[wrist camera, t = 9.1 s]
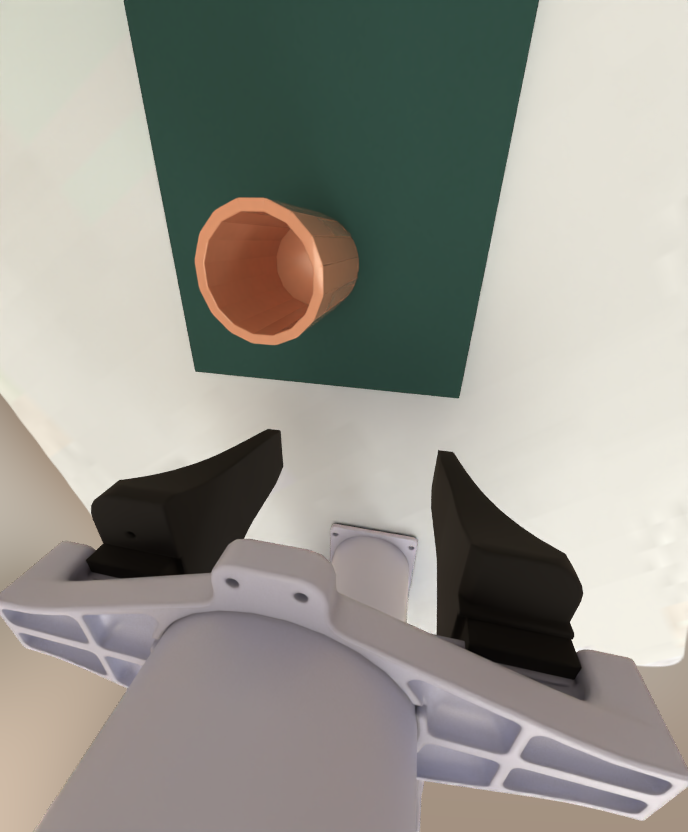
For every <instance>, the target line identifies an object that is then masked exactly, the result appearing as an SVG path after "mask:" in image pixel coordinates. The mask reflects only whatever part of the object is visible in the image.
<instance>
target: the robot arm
mask: <svg viewBox="0 0 688 832" xmlns="http://www.w3.org/2000/svg"><path fill="white" fill-rule="evenodd" d="M282 468H283V457H282V444H281V432H280V430H272V429H267V430H265V431H263V432H261V433H259V434H257V435H255V436H253V437H251V438H250V439H248V440H246V441H244V442H242V443H240V444H238V445H237V446H235V447H233V448H230V449H228V450H226V451H224V452H222V453H220V454H218V455H216V456H214V457H211V458H209V459H206V460H204V461H201V462H198V463H195V464H192V465H189V466H186V467H183V468H179V469H176V470H172V471H168V472H164V473H160V474H155V475H150V476H145V477H138V478H132V479H125V480H119V481H118V482H116V483H115V484H114V485H113V486H111V487H110V488H109V489H108V490H106V491H105V492H104V493H103V494H101V495H100V496H99V497H98V498H96V499H95V500H94V501H93V503H92V505H91V514H92V518H93V521H94V523H95V525H96V528H97V530H98V532H99V534H100V537H101V539H102V541H103V543H104V544H102V545H101V546H100V547H99V548H98V549H97V550H95V549H93V548H92V547H91V546H88V545H84V544H79V543H75V542H69V541H62V542H61V543H60V544H58V545H57V546H56V547H55V548H54V549H52V550H51V551H50V552H49V553H48V554H46V555H45V556H44V557H43V558H41V559H40V560H39V561H38V562H37V563H36V564H34V565H33V566H32V567H31V568H29V569H28V570H27V571H26V572H25V573H23V574H22V575H21V576H20V577H19V578H17V579H16V580H15V581H14V582H12V583H11V584H10V585H9V586H8V587H7V588H5V589H4V590H3V591H2V592H0V616H1V617H2V618H3V620H4V621H5V622H6V624H7V625H8V626H9V628H10V629H11V630H12V632H13V633H14V634H15V636H16V637H17V639H18V640H19V641H20V643H21V644H22V645H23V647H24V648H27V649H30V650H34V651H37V652H40V653H43V654H47V655H49V656H52V657H55V658H58V659H60V660H63V661H66V662H69V663H71V664H73V665H76V666H78V667H80V668H83V669H85V670H87V671H90V672H92V673H94V674H96V675H99V676H101V677H103V678H105V679H108V680H110V681H112V682H114V683H116V684H119V685H121V686H123V687H125V688H127V690H126V692H125V693H124V695H123V696H122V698H121V699H120V701H119V702H118V704H117V705H116V707H115V709H114V710H113V712H112V713H111V715H110V716H109V718H108V719H107V721H106V722H105V724H104V725H103V727H102V728H101V730H100V731H99V733H98V734H97V736H96V737H95V739H94V740H93V742H92V743H91V745H90V746H89V748H88V749H87V751H86V753H85V754H84V755H83V757H82V758H81V760H80V761H79V763H78V764H77V766H76V767H75V769H74V770H73V772H72V774H71V775H70V777H69V778H68V780H67V781H66V783H65V784H64V786H63V787H62V789H61V790H60V792H59V793H58V795H57V796H56V798H55V799H54V801H53V802H52V804H51V805H50V807H49V808H48V810H47V811H46V813H45V814H44V816H43V818H42V819H41V820H40V822H39V823H38V825H37V826H36V828H35V830H34V831H33V832H420V815H421V795H422V792H423V786H424V781H428V782H435V783H441V784H449V785H455V786H462V787H469V788H476V789H483V790H490V791H497V792H504V793H510V794H517V795H525V796H531V797H537V798H543V799H549V800H554V801H561V802H566V803H571V804H575V805H580V806H585V807H589V808H594V809H599V810H603V811H607V812H611V813H614V814H618V815H622V816H626V817H630V818H634V819H637V820H642V821H643V820H645V819H646V818H648V817H649V816H650V815H652V814H653V813H654V812H655V811H657V810H658V809H659V808H661V807H662V806H663V805H665V804H666V803H667V802H668V801H670V800H671V799H672V798H674V797H675V796H676V795H678V794H679V793H680V792H682V791H683V790H684V789H685V788H687V787H688V768H687V766H686V764H685V762H684V760H683V758H682V756H681V754H680V752H679V750H678V748H677V746H676V744H675V742H674V740H673V738H672V736H671V734H670V732H669V730H668V728H667V726H666V724H665V722H664V720H663V719H662V716H661V714H660V712H659V710H658V709H657V706H656V704H655V702H654V700H653V698H652V696H651V694H650V692H649V690H648V689H647V687H646V685H645V683H644V681H643V679H642V677H641V675H640V673H639V671H638V669H637V667H636V665H635V663H634V661H633V660H632V659H630V658H628V657H623V656H618V655H613V654H608V653H604V652H599V651H594V650H581V651H578V652H577V653H576V651H575V649H574V646H573V643H572V641H571V639H573V638H574V632H573V629H572V627H571V624H570V621H571V619H572V617H573V615H574V613H575V611H576V610H577V608H578V606H579V604H580V602H581V599H582V596H583V590H582V585H581V583H580V581H579V578H578V576H577V574H576V572H575V570H574V568H573V566H572V564H571V563H570V561H569V559H568V558H567V556H566V554H565V553H563V552H561V551H559V550H558V549H556V548H554V547H552V546H551V545H549V544H547V543H545V542H543V541H542V540H540V539H539V538H537V537H535V536H534V535H532V534H531V533H529V532H528V531H526V530H525V529H524V528H522V527H521V526H519V525H518V524H517V523H515V522H514V521H513V520H512V519H510V518H509V517H508V516H507V515H505V514H504V513H503V512H502V511H501V510H500V509H499V508H498V507H496V506H495V505H494V504H493V503H492V502H491V501H490V500H489V499H488V498H487V497H486V496H485V495H484V493H483V492H482V491H481V490H480V489H479V488H478V487H477V485H476V484H475V483H474V481H473V480H472V479H471V477H470V476H469V475H468V473H467V472H466V471H465V469H464V468H463V466H462V465H461V463H460V462H459V460H458V459H457V457H456V455H455V454H454V453H453V452H448V451H440V450H438V455H437V460H436V466H435V472H434V477H433V483H432V494H431V510H432V519H433V528H434V536H435V545H436V555H437V635H434V634H430V633H428V632H426V631H423V630H421V629H419V628H417V627H414V626H412V625H410V624H408V623H407V602H408V596H409V591H410V585H411V580H412V574H413V568H414V563H415V557H416V551H417V546H418V540H417V539H416V538H414V537H409V536H403V535H397V534H391V533H386V532H380V531H374V530H368V529H363V528H357V527H351V526H345V525H339V524H333V525H332V526H331V538H330V562H329V561H328V560H327V559H326V558H325V557H324V556H323V555H321V554H319V553H316V552H313V551H311V550H307V549H302V548H296V547H291V546H286V545H280V544H275V543H270V542H264V541H259V540H253V539H244V537H245V535H246V533H247V531H248V529H249V527H250V525H251V524H252V522H253V520H254V518H255V517H256V515H257V514H258V512H259V510H260V509H261V507H262V506H263V504H264V502H265V501H266V499H267V498H268V496H269V494H270V493H271V491H272V489H273V488H274V486H275V484H276V482H277V480H278V478H279V476H280V473H281V471H282ZM410 546H413V547H410Z"/></svg>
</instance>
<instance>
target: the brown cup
mask: <svg viewBox="0 0 688 832" xmlns="http://www.w3.org/2000/svg"><path fill="white" fill-rule="evenodd" d="M195 267H196V273H197V279H198V285H199V288H200V291H201V293H202V295H203V297H204V299H205V301H206V303H207V305H208V307H209V309H210V311H211V313H212V314H213V315H214V316H215V317H216V318H217V319H218V320H219V321H220V322H221V323H222V324H223V325H224V326H225V327H226V328H227V329H228V330H229V331H230V332H231V333H233V334H235V335H237V336H239V337H241V338H243V339H245V340H247V341H249V342H251V343H254V344H266V345H278V344H281V343H284V342H287V341H289V340H292V339H295V338H297V337H299V336H300V335H301V334H302V333H304V332H305V331H306V330H308V329H309V328H310V327H312V326H313V325H314V324H315V323H317V322H318V321H319V320H321V319H322V318H323V317H324V316H326V315H327V314H328V313H330V312H331V311H332V310H334V309H335V308H336V307H337V306H339V305H340V304H341V303H342V302H343V301H344V300H345V299H346V298H347V297H348V296H349V294H350V293H351V291H352V290H353V288H354V286H355V283H356V280H357V277H358V271H359V258H358V252H357V248H356V245H355V243H354V240H353V239H352V237H351V235H350V234H349V232H348V231H347V230H346V228H345V227H344V226H343V225H342V224H340V223H339V222H338V221H336V220H335V219H333V218H331V217H329V216H326V215H324V214H322V213H319V212H315V211H312V210H308V209H304V208H301V207H297V206H293V205H290V204H286V203H282V202H279V201H275V200H271V199H268V198H264V197H239V198H235V199H234V200H232V201H230V202H228V203H226V204H225V205H223V206H221V207H219V208H217V209H216V210H215V211H213V213H212V214H211V216H210V218H209V219H208V221H207V222H206V224H205V225H204V227H203V228H202V230H201V231H200V234H199V238H198V243H197V249H196V255H195Z"/></svg>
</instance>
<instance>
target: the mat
mask: <svg viewBox="0 0 688 832" xmlns="http://www.w3.org/2000/svg"><path fill="white" fill-rule="evenodd" d="M538 2H539V0H124V5H125V10H126V16H127V21H128V26H129V31H130V36H131V41H132V47H133V52H134V57H135V62H136V67H137V72H138V78H139V83H140V88H141V93H142V98H143V103H144V109H145V114H146V119H147V124H148V129H149V134H150V140H151V145H152V150H153V155H154V160H155V165H156V171H157V176H158V181H159V186H160V191H161V196H162V202H163V207H164V212H165V217H166V222H167V227H168V233H169V238H170V243H171V248H172V253H173V258H174V264H175V269H176V274H177V279H178V284H179V289H180V295H181V300H182V305H183V310H184V315H185V320H186V326H187V331H188V336H189V341H190V346H191V351H192V357H193V362H194V367H195V371H196V372H206V373H216V374H225V375H235V376H245V377H255V378H265V379H274V380H284V381H294V382H304V383H314V384H323V385H333V386H343V387H353V388H363V389H372V390H382V391H392V392H402V393H412V394H421V395H431V396H441V397H451V398H459V396H460V391H461V386H462V381H463V376H464V371H465V366H466V361H467V356H468V351H469V346H470V341H471V336H472V331H473V326H474V321H475V316H476V311H477V306H478V301H479V296H480V291H481V286H482V281H483V276H484V271H485V266H486V261H487V256H488V251H489V246H490V241H491V236H492V231H493V226H494V221H495V216H496V211H497V206H498V201H499V196H500V191H501V186H502V182H503V177H504V172H505V167H506V162H507V157H508V152H509V147H510V142H511V137H512V132H513V127H514V122H515V117H516V112H517V107H518V102H519V97H520V92H521V87H522V82H523V77H524V72H525V67H526V62H527V57H528V52H529V47H530V42H531V37H532V32H533V27H534V22H535V17H536V12H537V7H538ZM239 197H264V198H268V199H271V200H275V201H279V202H282V203H286V204H290V205H293V206H297V207H301V208H304V209H308V210H312V211H315V212H319V213H322V214H324V215H326V216H329V217H331V218H333V219H335V220H336V221H338V222H339V223H340V224H342V225H343V226H344V227H345V228H346V230H347V231H348V232H349V234H350V235H351V237H352V239H353V240H354V243H355V245H356V248H357V252H358V258H359V271H358V277H357V280H356V283H355V286H354V288H353V290H352V291H351V293H350V294H349V296H348V297H347V298H346V299H345V300H344V301H343V302H342V303H341V304H340V305H339V306H337V307H336V308H335V309H334V310H332V311H331V312H330V313H328V314H327V315H326V316H324V317H323V318H322V319H321V320H319V321H318V322H317V323H315V324H314V325H313V326H312V327H310V328H309V329H308V330H306V331H305V332H304V333H302V334H301V335H300V336H299V337H297V338H295V339H292V340H289V341H287V342H284V343H281V344H278V345H266V344H254V343H251V342H249V341H247V340H245V339H243V338H241V337H239V336H237V335H235V334H233V333H231V332H230V331H229V330H228V329H227V328H226V327H225V326H224V325H223V324H222V323H221V322H220V321H219V320H218V319H217V318H216V317H215V316H214V315H213V314H212V313H211V311H210V309H209V307H208V305H207V303H206V301H205V299H204V297H203V295H202V293H201V291H200V288H199V285H198V279H197V273H196V267H195V255H196V249H197V243H198V238H199V234H200V231H201V230H202V228H203V227H204V225H205V224H206V222H207V221H208V219H209V218H210V216H211V214H212V213H213V211H215V210H216V209H217V208H219V207H221V206H223V205H225V204H226V203H228V202H230V201H232V200H234V199H235V198H239Z"/></svg>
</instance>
